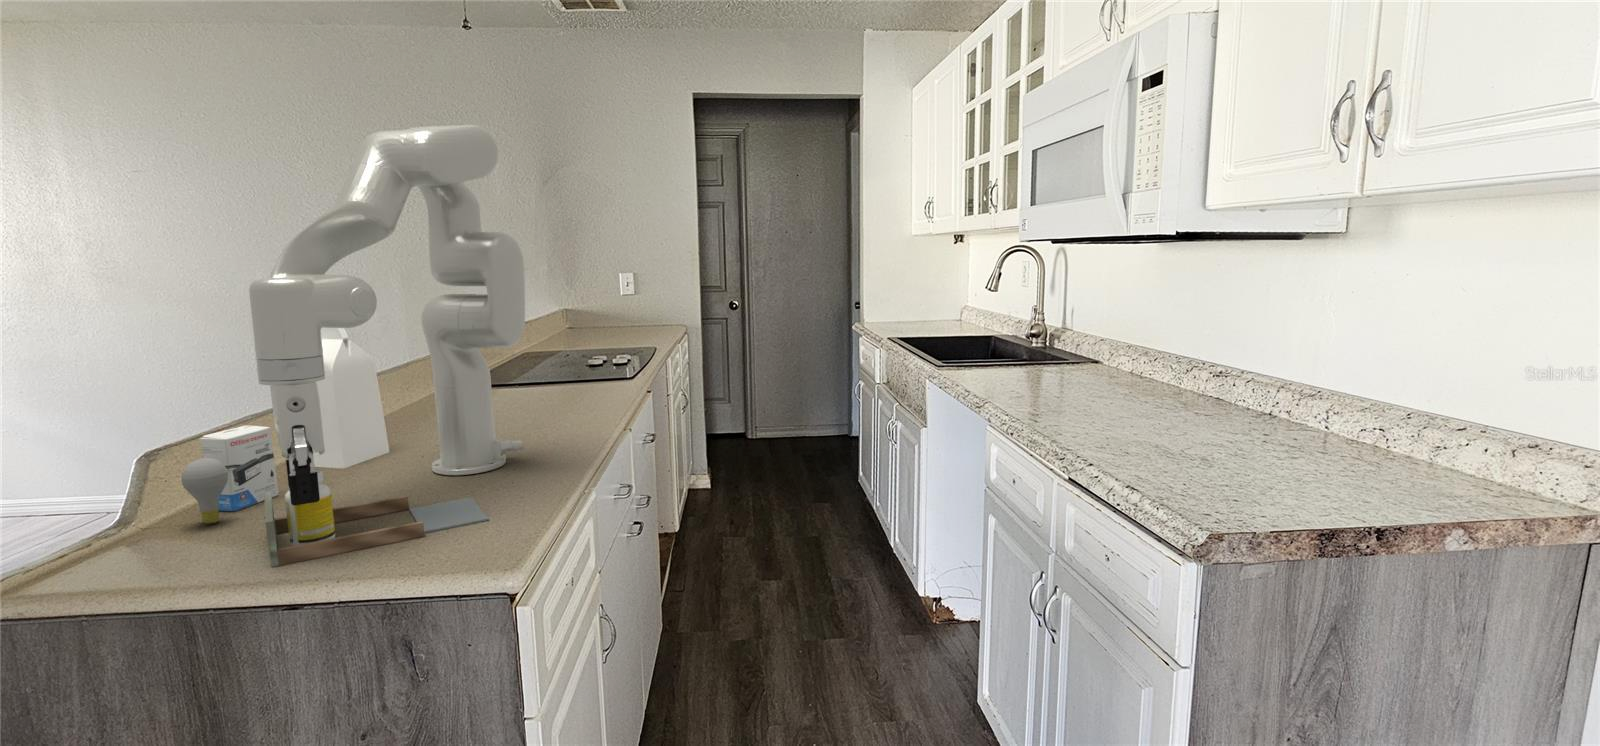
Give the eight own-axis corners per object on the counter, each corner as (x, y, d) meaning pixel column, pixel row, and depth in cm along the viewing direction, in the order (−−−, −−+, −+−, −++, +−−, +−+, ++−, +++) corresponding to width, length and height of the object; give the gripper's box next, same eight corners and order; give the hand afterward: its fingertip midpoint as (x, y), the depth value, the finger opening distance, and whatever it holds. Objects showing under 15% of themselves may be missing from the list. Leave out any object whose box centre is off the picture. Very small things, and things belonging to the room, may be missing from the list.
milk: (389, 452, 156) (376, 321, 151) (344, 468, 145) (328, 327, 140) (338, 449, 158) (324, 320, 154) (290, 465, 147) (272, 326, 143)
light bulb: (205, 532, 113) (195, 465, 111) (179, 528, 115) (169, 461, 113) (243, 519, 118) (234, 455, 116) (218, 515, 120) (209, 452, 118)
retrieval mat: (471, 499, 126) (470, 497, 126) (489, 520, 117) (489, 518, 117) (409, 510, 121) (409, 508, 121) (423, 533, 112) (422, 531, 112)
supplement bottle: (345, 536, 111) (337, 469, 109) (310, 550, 106) (301, 480, 104) (316, 532, 113) (308, 466, 111) (280, 546, 108) (272, 477, 106)
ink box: (234, 512, 121) (224, 438, 119) (207, 510, 122) (197, 437, 120) (280, 495, 130) (271, 425, 128) (255, 493, 131) (246, 424, 129)
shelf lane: (408, 508, 122) (404, 470, 121) (424, 536, 110) (420, 495, 109) (269, 533, 112) (264, 492, 111) (271, 567, 100) (265, 522, 99)
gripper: (329, 375, 100) (340, 505, 102) (320, 361, 114) (330, 476, 117) (257, 380, 96) (271, 516, 98) (257, 365, 110) (270, 484, 112)
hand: (303, 494), depth 107 cm, fingers open, 9 cm apart
